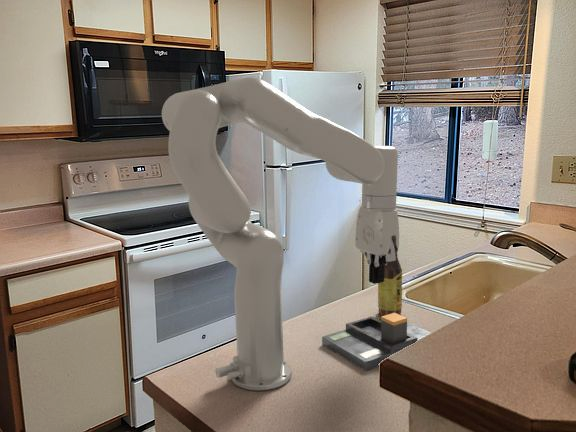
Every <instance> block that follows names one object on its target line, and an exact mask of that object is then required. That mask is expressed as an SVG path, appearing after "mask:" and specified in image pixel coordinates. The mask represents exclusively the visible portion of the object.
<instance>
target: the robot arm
mask: <svg viewBox="0 0 576 432" xmlns="http://www.w3.org/2000/svg"><path fill="white" fill-rule="evenodd" d="M161 119H162V122H163V125H164V127H165V128H166V129H167V131H169V136H168V148H167V149H168V157H169V161H170V162H169V163H170V166H171V168H172V171H173V172H174V174H175V177H176V178H177V179H178V181H179V182H180V184H181V185H182V187H183V189H184V190H185V192H186V193H187V195H188V196H189V197H188V209H189V212H190V215H191V217H192V218H193V220H194V222H195V223H196V224H197V225H198V227H199V228H200V230H201V231H202V232H203V234H204V235H205V236H206V238H207V239H208V240H209V242H210V243H211V244H212V246H213V247H214V248H215V250H216V251H217V253H218V254H219V255H220V256H221V257H222V258H223V259H224V260H225V261H226V262H228V263H230V264H231V265H233V266H234V267H235V268H236V276H235V282H234V290H233V291H234V294H233V295H234V296H233V297H234V298H233V300H234V301H233V303H234V313H235V314H234V316H235V334H236V335H235V337H236V351H237V353H236V354H237V355H235V356H233V357H232V362H229V364H227V365H224V366H220V367H217V368H216V369H215V374H216V377H217V378H218V379H221V378H223V377H227V379H228V380H229V381H230V380H231V382H232V383H233V384H234V385H236V386H237V387H239V388H242V389H244V390H249V391H267V390H274V389H276V388H279V387H282V386H283V385H285V384H286V383H288V381H290V379H291V377H292V373H293V372H292V367H291V365H290V363H288V362H287V361H285V360H284V358H285V357H284V331H283V330H284V329H283V327H284V326H283V304H282V303H283V302H282V282H283V281H282V277H283V269H284V263H285V250H284V247H283V244H282V242H281V240H280V238H279V237H278V236H277V235H276V234H275V233H274V232H272V231H270V230H269V229H267V228H265V227H262V226H261V225H257V224H255V223H252V222H251V220H250V219H251V213H252V212H251V211H252V210H251V205H250V202H249V199H248V198H247V197H246V195H245V193H244V191H242V189H241V188H240V186H238V184H237V182H236V180H235V179H234V178H233V177H232V174H230V172H229V171H228V169H227V168H226V166H225V164H224V163H223V161H222V159H221V157H220V155H219V154H218V150H217V145H216V140H217V134H218V132H219V129H220V128H223V127H228V126H231V125H234V124H238V123H239V124H240V123H245V124H247V125H249V126H250V127H252V128H254V130H257V131H258V132H261V133H263V134H264V135H265V136H267V137H269V138H271V139H272V140H273V141H275V142H276V143H278V144H280V145H281V146H283V147H285V148H286V149H288V150H290V151H292V152H295V153H297V154H300V155H305V156H307V157H311V158H316V159H318V160H321V161H324V162H325V167H326V170H327V172H328V173H329V175H330V176H331V177H333V178H334V179H337V180H340V181H344V182H351V183H355V184H361V185H362V186H361V206H360V207H359V209H358V213H357V219H356V226H355V236H354V237H355V241H354V242H355V247H356V248H357V250H359V251H360V253H362V254H363V255H365V257H366V262H367V265H369V266H368V281H369V283H372V284H373V285H374V284H378V283H381V282H384V270H385V265H387V262H391V261H395V260H396V256H395V254H396V253H397V254H398V252H399V250H400V249H399V247H400V226H399V223H400V222H399V215H398V210H397V187H398V163H399V159H398V157H399V155H398V154H399V153H398V149H397V148H396V147H393V146H390V145H373V144H371V143H370V142H368V141H367V140H365V139H364V138H363V137H361V136H359V135H358V134H356V133H354V132H353V131H351V130H349V129H347V128H345V127H343V126H341V125H339V124H336V123H334V122H332V121H330V120H329V119H327V118H324V117H322V116H320V115H318V114H316V113H313V111H310V110H308V109H307V108H305V107H304V106H303V105H301V104H299V103H298V102H297V101H295V100H294V99H292V98H291V97H289V96H288V95H286V94H285V93H284V92H282V91H281V90H278V89H277V88H276V87H274V86H273V85H271V84H270V83H268V82H266V81H265V80H263V79H261V78H258V77H255V76H249V77H248V76H247V77H244V78H243V77H242V78H237V79H233V80H230V81H229V80H228V81H226V82H221V83H218V84H217V83H216V84H214V85H208V86H205V87H199V88H196V89H195V88H194V89H190V90H185V91H181V92H176V93H174V94H172V95H171V96H169V97H168V98H167V99H166V100H165V102H164V104H163V106H162V109H161Z"/></svg>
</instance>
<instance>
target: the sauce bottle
mask: <svg viewBox="0 0 576 432" xmlns="http://www.w3.org/2000/svg"><path fill="white" fill-rule="evenodd" d="M395 256H396V260H395V261H391V262H387V265H385V270H384V282H381V283H377V287H378V288H377V297H378V298H377V306H378V313H379V314H380V315H381V316H385V315H388V314H392V313H397V314H399V315H401V313H402V308H403V269H402V267H401V264H400V261H399V258H398V252H397V253H396V254H395Z"/></svg>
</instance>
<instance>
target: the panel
mask: <svg viewBox="0 0 576 432" xmlns="http://www.w3.org/2000/svg"><path fill="white" fill-rule="evenodd" d="M430 333H432V332H430V331H428V330H426V329H425V328H422V327H419V326H417V325H415V324H412V323H410V322H408V321H407V339H405V340H402V341H399V342H396V343H393V344H390V343H388V342H386V341H384V340H382V339H381V318H380V319H378V318H376V317H374V316H368V317H365V318H362V319H361V318H360V319H358V320H354V321H352V322H347V323H345V329H344V330H339V331H337V332H333V333H330V334H326V335H324V336H322V337H321V342H322V343H321V345H322V346H324V347H325V348H327V349H328V350H330V351H332V352H334V353H335V354H337V355H338V356H340V357H342V358H343V359H345V360H346V361H348V362H350V363H351V364H353V365H355V366H357V367H359V368H360V369H361V370H364V371H365V372H367V371H370V370H372V369H375V368H378V367H380V366H379V365H378V364H379V363H380V362H381V361H382V360H384V359H385V358H387V357H389V356H390V355H392V354H394V353H396V352H398V351H400V350H402V349H403V348H405V347H407V346H409V345H411V344H413V343H415V342H416V341H418V340H419V339H421V338H423V337H425V336H427V335H429V334H430Z"/></svg>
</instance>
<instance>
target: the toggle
mask: <svg viewBox="0 0 576 432" xmlns="http://www.w3.org/2000/svg"><path fill="white" fill-rule="evenodd" d="M380 319H381V339H382V340H384V341H386V342H388V343H390V344H393V343H396V342H399V341H402V340H405V339H407V322H408V318H407V317H406V316H403V315H401V314H400V315H399V314H397V313H392V314H388V315H385V316H383V315H381V318H380Z"/></svg>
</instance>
